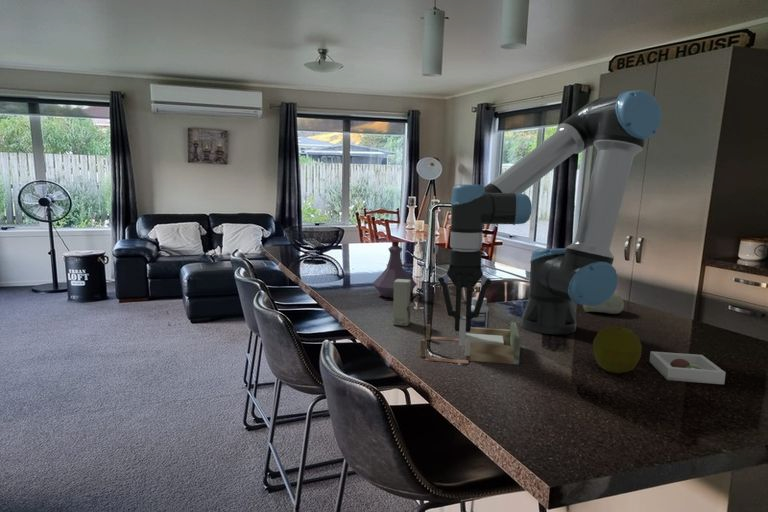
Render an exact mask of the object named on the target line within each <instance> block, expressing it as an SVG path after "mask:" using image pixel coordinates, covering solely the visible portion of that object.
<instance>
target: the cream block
mask: <svg viewBox="0 0 768 512" xmlns="http://www.w3.org/2000/svg"><path fill="white" fill-rule="evenodd" d="M470 343H481V344H495V345H504V342H503V336H498V335H484V334H471V333H469V332H466V335H465V346H464V357H465V356H466V357H470Z"/></svg>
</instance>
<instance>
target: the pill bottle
mask: <svg viewBox="0 0 768 512" xmlns="http://www.w3.org/2000/svg"><path fill="white" fill-rule="evenodd" d="M477 299H478V296H472V303H471V312H473V311H474V309H475V306H476V303H477ZM487 300H488V299H487V298H486V297H484V299H483V303H482V306H481V309H480V313H479V316H478V317H477V318H472V319H471V327H476V328H489V319H490V318H489V317H490V316H489V315H490V308H489V307H488V306H487V303H488V301H487ZM468 333H470V334H471V328H470V332H468Z"/></svg>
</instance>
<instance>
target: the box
mask: <svg viewBox="0 0 768 512" xmlns="http://www.w3.org/2000/svg"><path fill="white" fill-rule="evenodd" d="M410 288H411V280H408V279H397V280H395V281H394V298H393V321H392V323H393V325H394V326H403V327H407V326H408V325H409V324H410V322H411V292H410Z"/></svg>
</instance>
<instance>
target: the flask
mask: <svg viewBox="0 0 768 512" xmlns="http://www.w3.org/2000/svg"><path fill="white" fill-rule="evenodd" d="M391 244H392V245H391V246H390V247H388V251H389V259H388V262H387V264H386V265H387V266H386V268H385V269H384V271H383V272H382V273H381V274H380V275H379V276H378V277H377V278H376V279H375V280H374V281H373V282H372V284H371V285H373V286H374V287H375V289H376V290H377V291H378V292H379V294H380V295H381V296H383V297H384V298H387V297H390V298H389V299H394V281H395V280H397V279H408V280H411V288H410V293H411V292H413V290H414V288H415V287H417V285H418V284H417V283H416V281H415V280H414V279H413V278H412V277H411V276H410V275H409V273H408V272H407V271H406V269H404V267H403V265H404V264H403V262H402V258H401V257H402V256H401V252H402V251H403V248H402V247H400V241H399V240H392V241H391Z"/></svg>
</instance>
